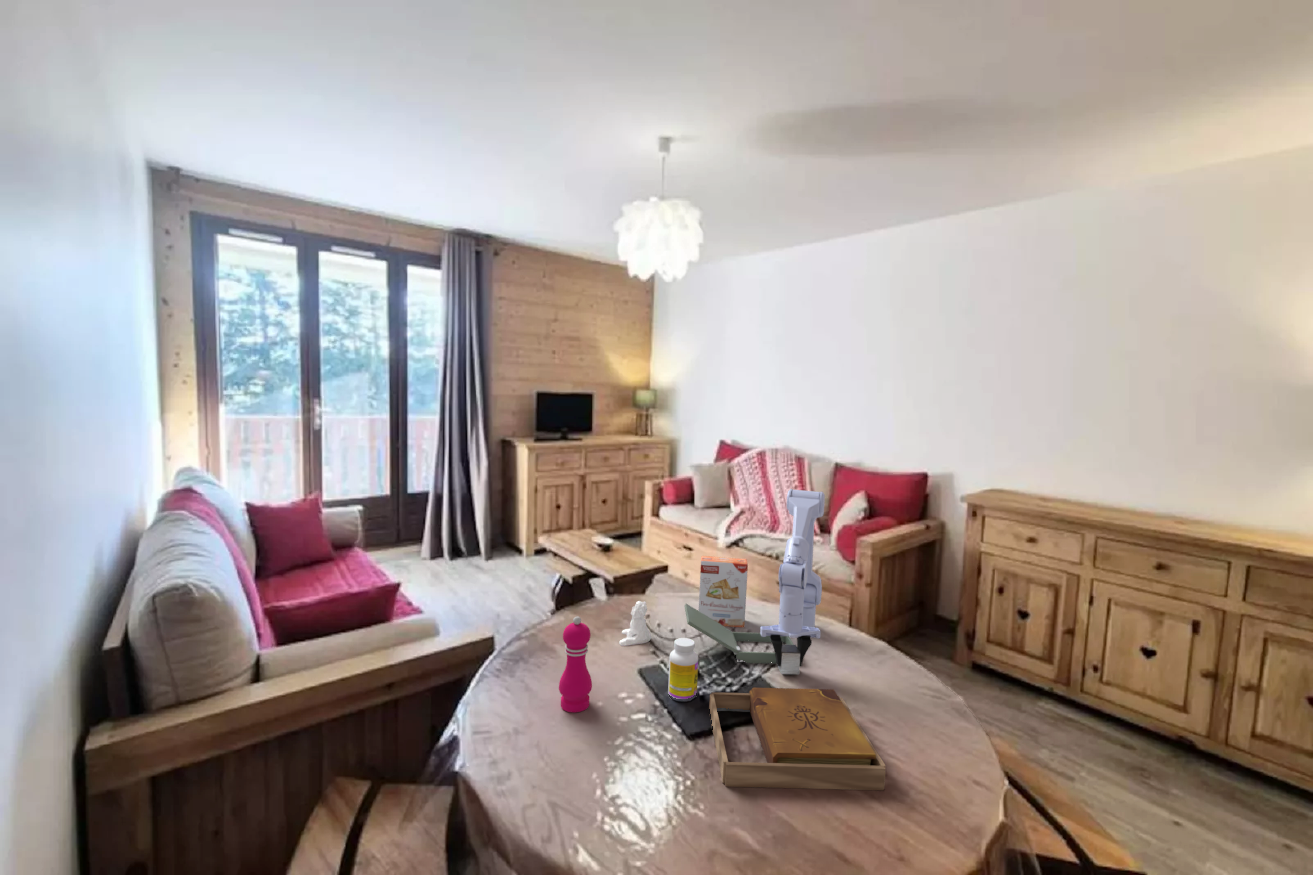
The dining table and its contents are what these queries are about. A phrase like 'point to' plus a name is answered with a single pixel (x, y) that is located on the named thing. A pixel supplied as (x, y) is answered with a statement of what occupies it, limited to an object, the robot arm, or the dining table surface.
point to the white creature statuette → (637, 626)
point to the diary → (807, 727)
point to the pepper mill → (575, 668)
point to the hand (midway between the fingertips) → (788, 664)
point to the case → (731, 637)
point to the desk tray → (786, 772)
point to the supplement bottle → (683, 669)
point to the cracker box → (723, 590)
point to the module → (789, 660)
